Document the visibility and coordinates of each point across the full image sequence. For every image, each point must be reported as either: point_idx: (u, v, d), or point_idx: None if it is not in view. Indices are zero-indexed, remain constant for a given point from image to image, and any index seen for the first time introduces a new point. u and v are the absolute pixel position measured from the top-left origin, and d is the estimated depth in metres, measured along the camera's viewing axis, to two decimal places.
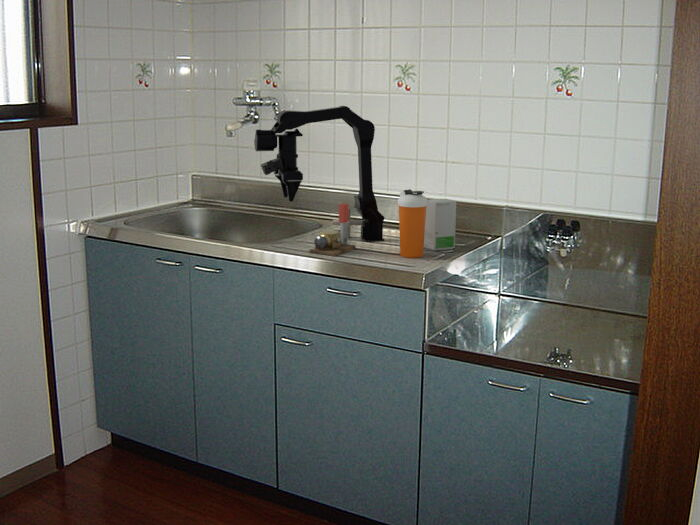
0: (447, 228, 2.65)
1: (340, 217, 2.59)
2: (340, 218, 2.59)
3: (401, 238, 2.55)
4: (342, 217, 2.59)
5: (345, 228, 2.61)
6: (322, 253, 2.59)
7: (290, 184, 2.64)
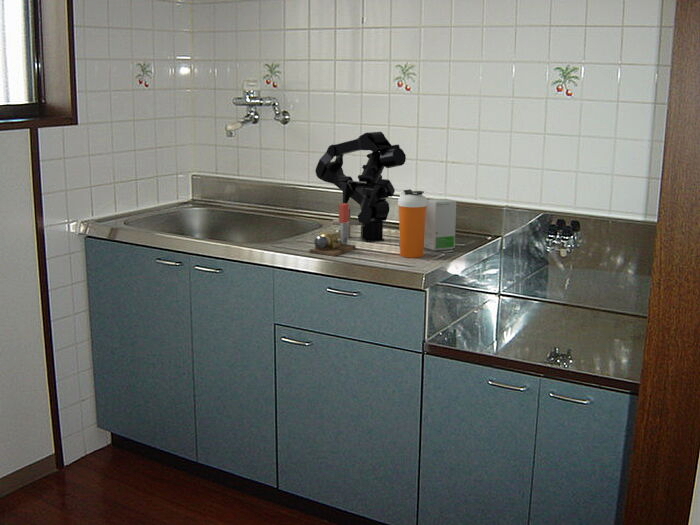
0: (447, 228, 2.65)
1: (340, 217, 2.59)
2: (340, 218, 2.59)
3: (401, 238, 2.55)
4: (342, 217, 2.59)
5: (345, 228, 2.61)
6: (322, 253, 2.59)
7: None
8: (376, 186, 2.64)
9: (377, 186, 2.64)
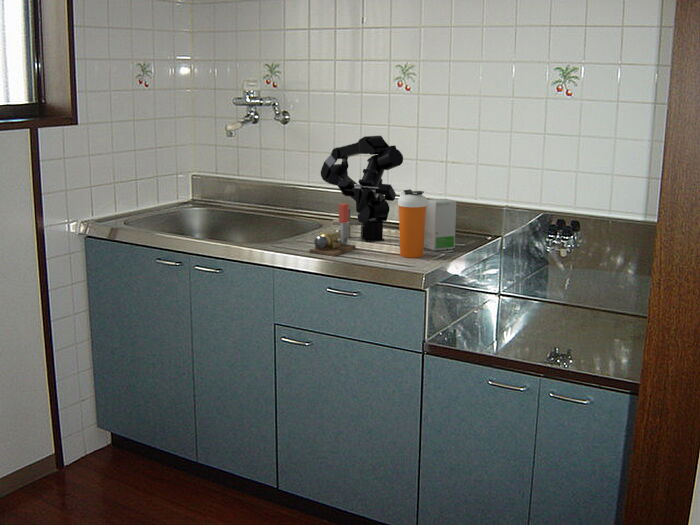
0: (447, 228, 2.65)
1: (340, 217, 2.59)
2: (340, 218, 2.59)
3: (401, 238, 2.55)
4: (342, 217, 2.59)
5: (345, 228, 2.61)
6: (322, 253, 2.59)
7: None
8: (365, 190, 2.66)
9: (367, 190, 2.66)
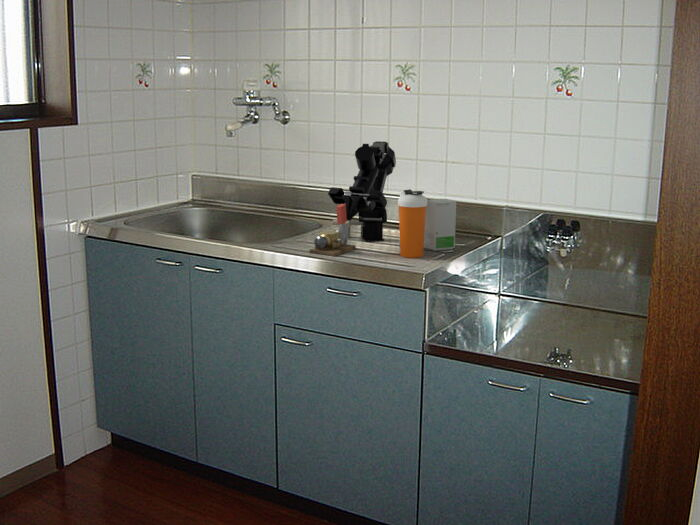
0: (447, 228, 2.65)
1: (338, 218, 2.58)
2: (338, 219, 2.58)
3: (401, 238, 2.55)
4: (340, 218, 2.58)
5: (344, 228, 2.60)
6: (322, 253, 2.59)
7: None
8: (356, 197, 2.60)
9: (358, 197, 2.60)
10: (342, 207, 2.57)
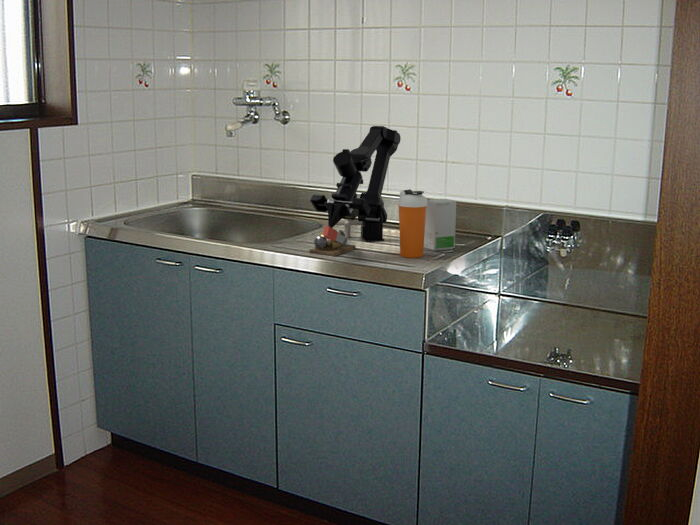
0: (447, 228, 2.65)
1: (330, 239, 2.55)
2: (330, 239, 2.55)
3: (401, 238, 2.55)
4: (332, 239, 2.55)
5: (339, 237, 2.58)
6: (322, 253, 2.59)
7: None
8: (338, 204, 2.53)
9: (340, 204, 2.53)
10: (328, 233, 2.52)
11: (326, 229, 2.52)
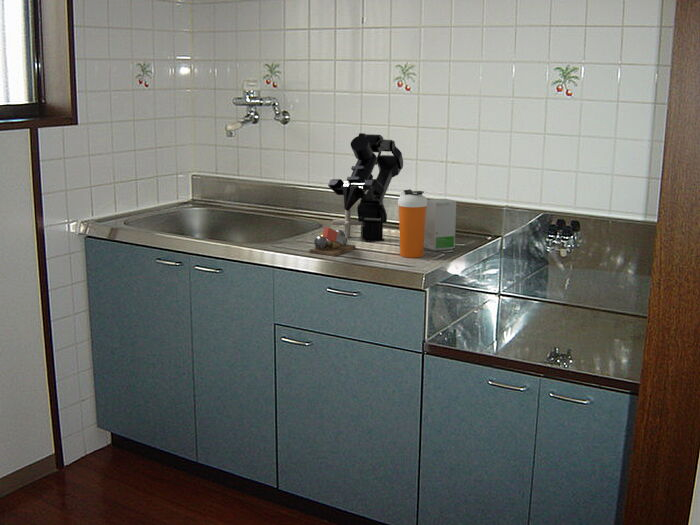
0: (447, 228, 2.65)
1: (330, 240, 2.55)
2: (330, 240, 2.55)
3: (401, 238, 2.55)
4: (331, 240, 2.55)
5: (339, 237, 2.58)
6: (322, 253, 2.59)
7: None
8: (352, 187, 2.62)
9: (353, 186, 2.62)
10: (328, 234, 2.52)
11: (326, 230, 2.52)
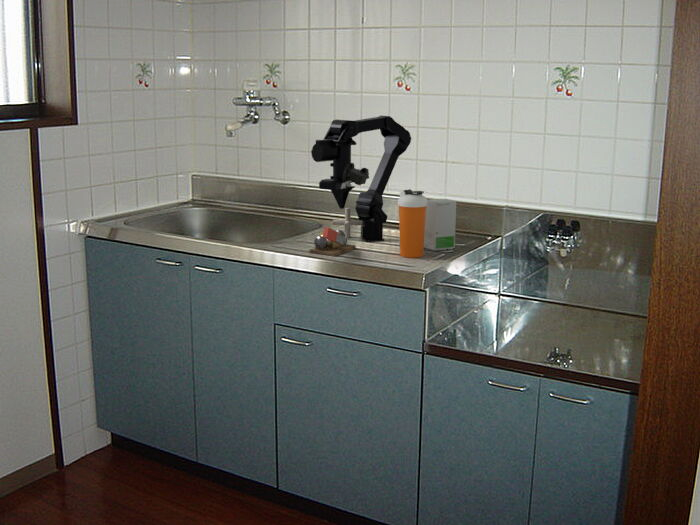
0: (447, 228, 2.65)
1: (330, 240, 2.55)
2: (330, 240, 2.55)
3: (401, 238, 2.55)
4: (331, 240, 2.55)
5: (339, 237, 2.58)
6: (322, 253, 2.59)
7: None
8: None
9: None
10: (328, 234, 2.52)
11: (326, 230, 2.52)
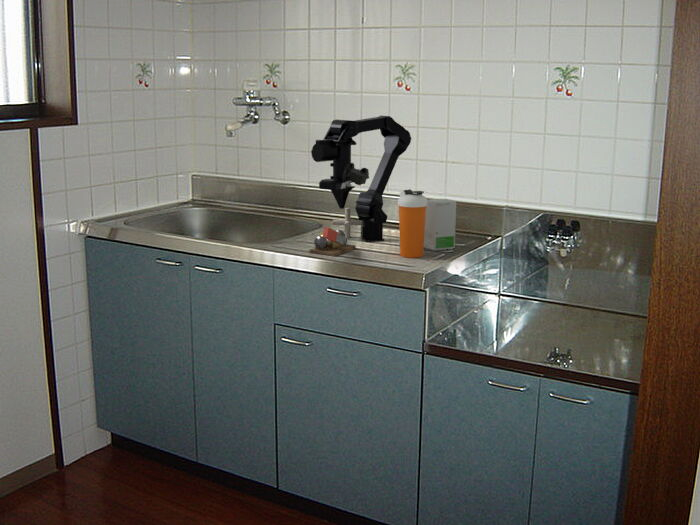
0: (447, 228, 2.65)
1: (330, 240, 2.55)
2: (330, 240, 2.55)
3: (401, 238, 2.55)
4: (331, 240, 2.55)
5: (339, 237, 2.58)
6: (322, 253, 2.59)
7: None
8: None
9: None
10: (328, 234, 2.52)
11: (326, 230, 2.52)
